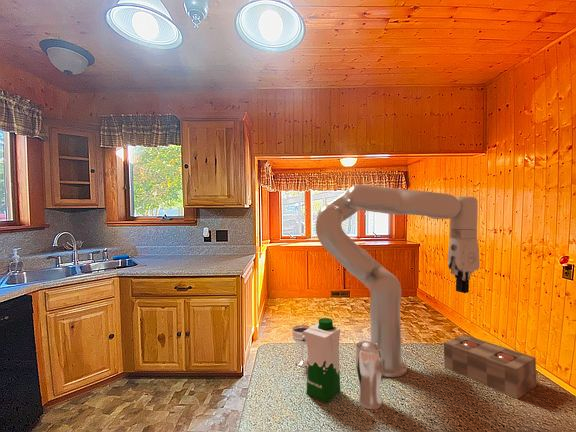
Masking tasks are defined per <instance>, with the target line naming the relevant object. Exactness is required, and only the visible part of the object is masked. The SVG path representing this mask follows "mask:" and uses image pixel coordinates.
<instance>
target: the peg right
mask: <svg viewBox="0 0 576 432" xmlns="http://www.w3.org/2000/svg"><path fill="white" fill-rule="evenodd" d="M497 357H500V358H503V359H505V360H508V361H513V360H514V357H513V356H511V355H509V354H506V353H498V354H497Z"/></svg>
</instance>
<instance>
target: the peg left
mask: <svg viewBox="0 0 576 432" xmlns="http://www.w3.org/2000/svg"><path fill="white" fill-rule="evenodd" d="M463 345H466V346H469V347H472V348H475V347H477V344H476V343H474V342H470V341H464V342H463Z"/></svg>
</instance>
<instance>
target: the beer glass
mask: <svg viewBox="0 0 576 432" xmlns="http://www.w3.org/2000/svg"><path fill="white" fill-rule="evenodd" d="M354 356H355V357H354V359H355V371H356V375H357V376H356V377H357V381H358V387H359V389H358V391H359V392H358V397H357V398H358V399H357V401H358V405H360V407H362V408H364V409H367V410H378V409H380V408H381V407H382V403H383V402H382V397H381V390H380V389H381V386H380V385H381V381H382V376H381V375H382V355H381V347H380V345H378V344H377V343H374V342H371V341H370V340H369V341H366V340H364V341H363V340H361V341H359V342H357V343H356V344H355V355H354Z"/></svg>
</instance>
